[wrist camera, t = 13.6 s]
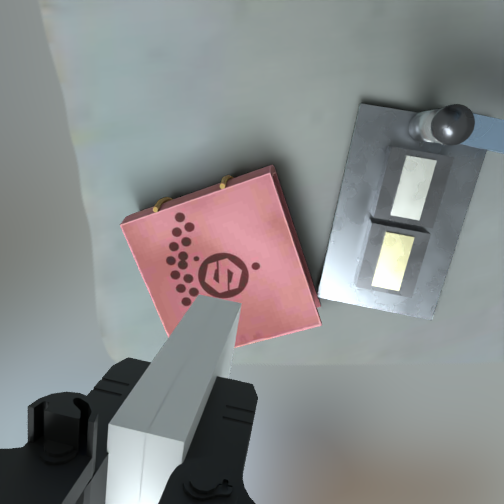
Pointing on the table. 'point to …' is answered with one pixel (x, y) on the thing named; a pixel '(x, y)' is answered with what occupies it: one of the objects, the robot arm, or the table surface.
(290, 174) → the table surface
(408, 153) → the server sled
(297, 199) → the table surface
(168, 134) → the table surface
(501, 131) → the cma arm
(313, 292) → the book
